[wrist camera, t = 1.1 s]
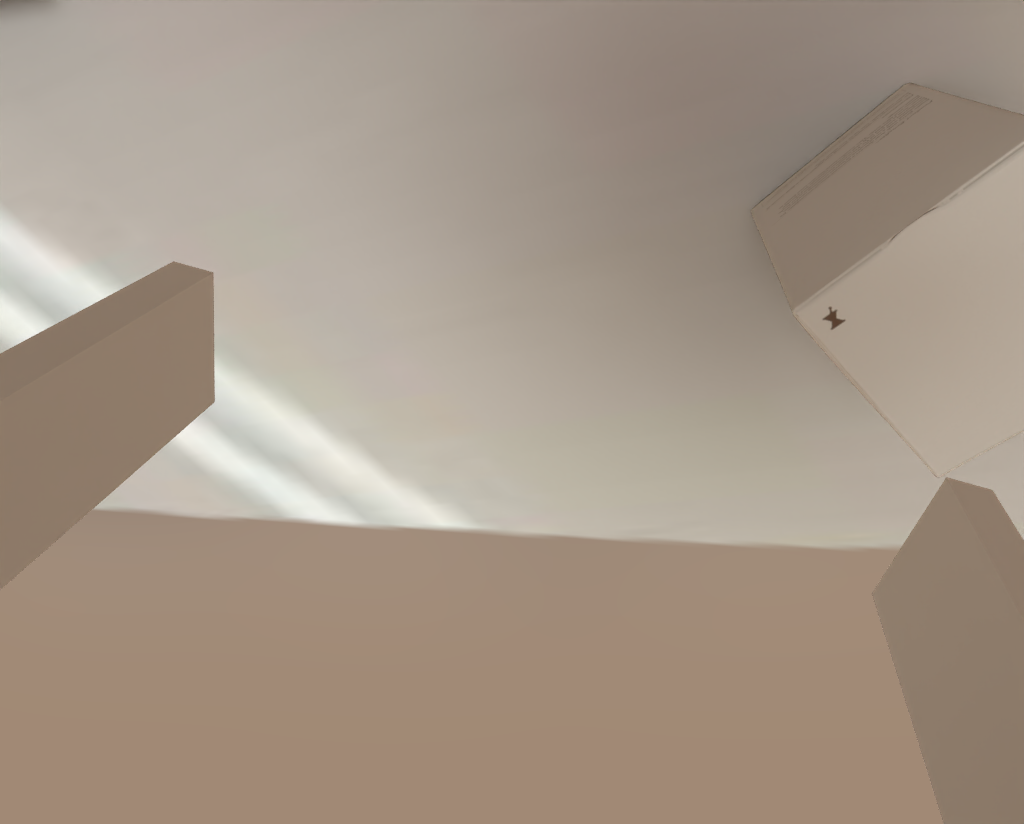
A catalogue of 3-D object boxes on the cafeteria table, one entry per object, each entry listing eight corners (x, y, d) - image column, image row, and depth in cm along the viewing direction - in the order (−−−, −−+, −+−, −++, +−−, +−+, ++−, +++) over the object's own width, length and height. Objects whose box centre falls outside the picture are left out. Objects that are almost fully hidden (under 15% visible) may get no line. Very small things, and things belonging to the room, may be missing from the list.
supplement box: (850, 334, 40) (932, 490, 27) (746, 210, 38) (781, 313, 25) (1020, 220, 36) (1214, 340, 23) (913, 74, 34) (1059, 114, 21)
